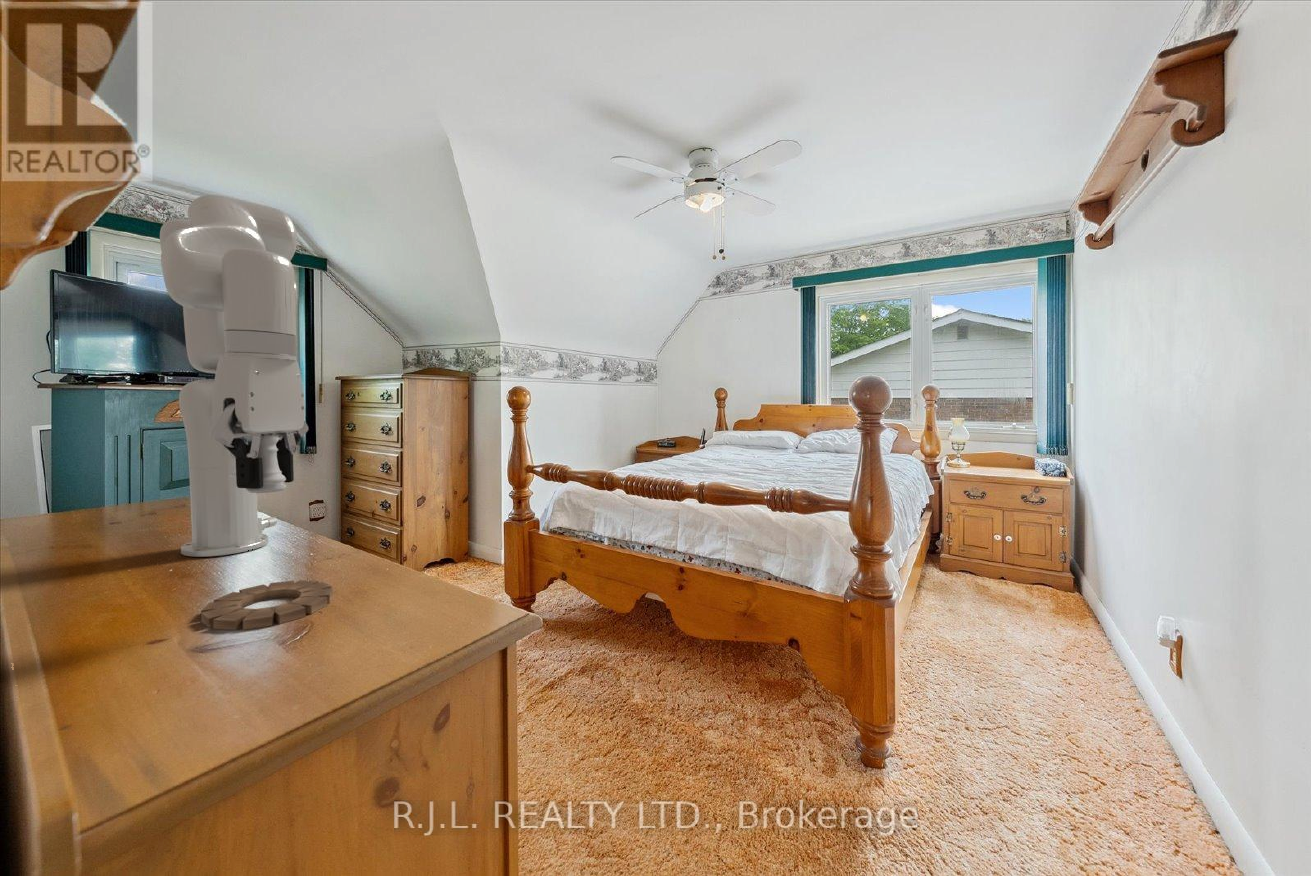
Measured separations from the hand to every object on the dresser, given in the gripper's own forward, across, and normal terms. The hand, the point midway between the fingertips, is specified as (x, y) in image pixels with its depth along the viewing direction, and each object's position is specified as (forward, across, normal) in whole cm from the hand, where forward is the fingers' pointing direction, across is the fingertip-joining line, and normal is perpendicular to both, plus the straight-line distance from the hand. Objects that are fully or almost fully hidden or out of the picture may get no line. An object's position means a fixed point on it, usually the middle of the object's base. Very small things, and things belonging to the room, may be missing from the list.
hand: (266, 483), depth 69 cm
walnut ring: (+17, 0, 0) cm, 17 cm away
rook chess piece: (+1, 0, 0) cm, 1 cm away
